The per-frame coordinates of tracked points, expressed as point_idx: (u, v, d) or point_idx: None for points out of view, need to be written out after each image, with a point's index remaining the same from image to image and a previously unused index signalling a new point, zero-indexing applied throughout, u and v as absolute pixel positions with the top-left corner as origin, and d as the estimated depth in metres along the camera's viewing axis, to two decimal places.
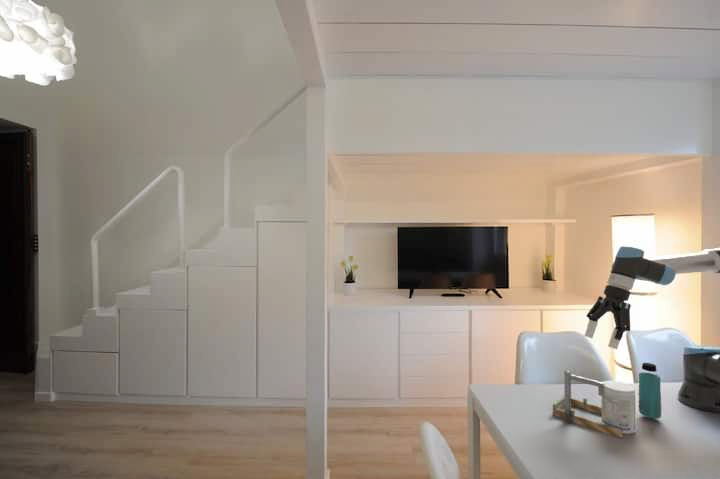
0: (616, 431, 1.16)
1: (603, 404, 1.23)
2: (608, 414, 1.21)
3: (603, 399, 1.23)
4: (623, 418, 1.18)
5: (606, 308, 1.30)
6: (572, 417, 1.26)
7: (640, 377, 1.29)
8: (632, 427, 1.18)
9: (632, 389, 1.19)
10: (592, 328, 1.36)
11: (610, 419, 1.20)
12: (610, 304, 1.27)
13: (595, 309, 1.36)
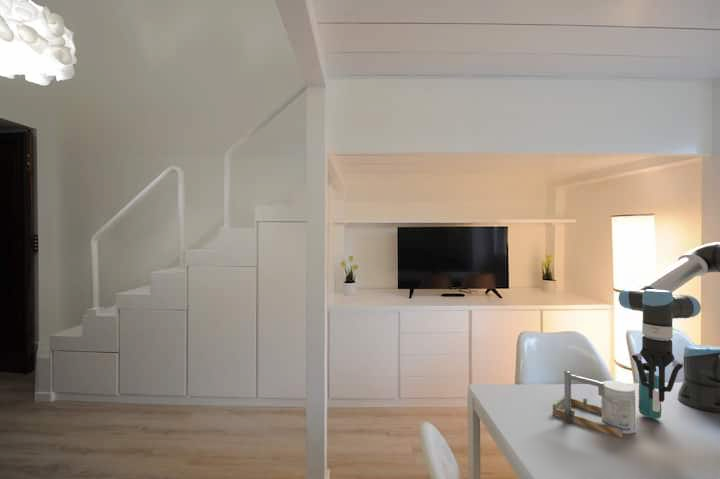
0: (616, 431, 1.16)
1: (603, 404, 1.23)
2: (608, 414, 1.21)
3: (603, 399, 1.23)
4: (623, 418, 1.18)
5: (652, 364, 1.14)
6: (572, 417, 1.26)
7: None
8: (632, 427, 1.18)
9: (632, 389, 1.19)
10: None
11: (610, 419, 1.20)
12: (660, 361, 1.12)
13: (643, 371, 1.17)
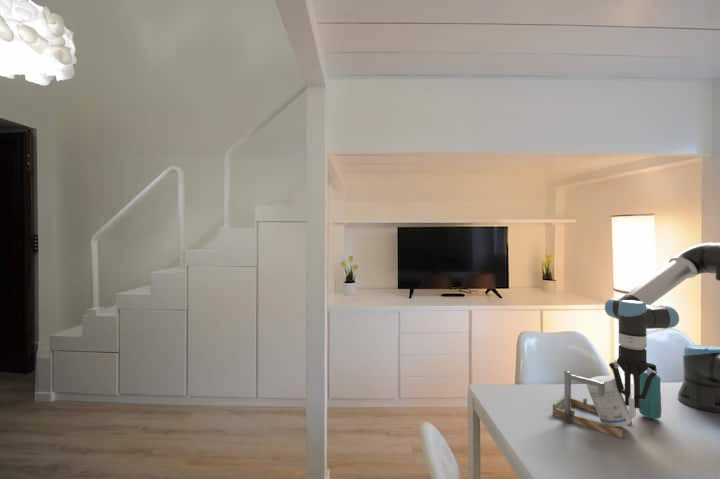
0: (616, 431, 1.16)
1: (593, 402, 1.25)
2: (601, 410, 1.22)
3: (592, 397, 1.25)
4: (615, 410, 1.19)
5: None
6: (572, 417, 1.26)
7: (640, 377, 1.29)
8: (627, 417, 1.19)
9: (612, 378, 1.23)
10: None
11: (604, 415, 1.21)
12: (635, 369, 1.17)
13: (619, 379, 1.21)
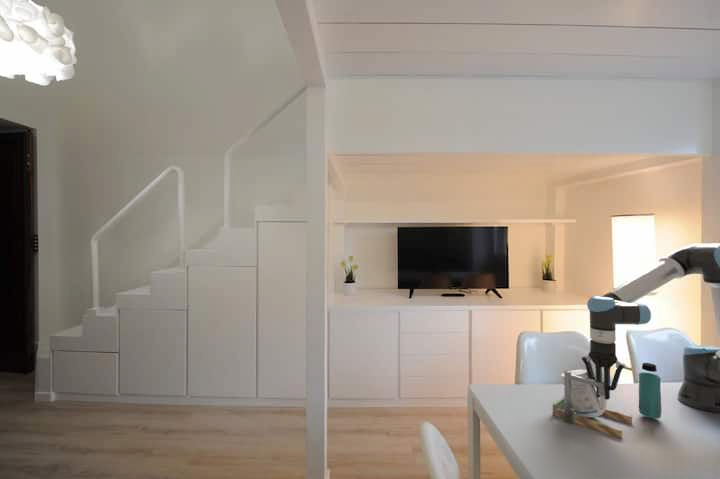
0: (616, 431, 1.16)
1: None
2: (574, 402, 1.28)
3: None
4: (586, 402, 1.26)
5: None
6: (572, 417, 1.26)
7: (640, 377, 1.29)
8: (598, 408, 1.25)
9: (585, 371, 1.29)
10: None
11: (577, 406, 1.28)
12: (605, 362, 1.23)
13: (591, 372, 1.28)
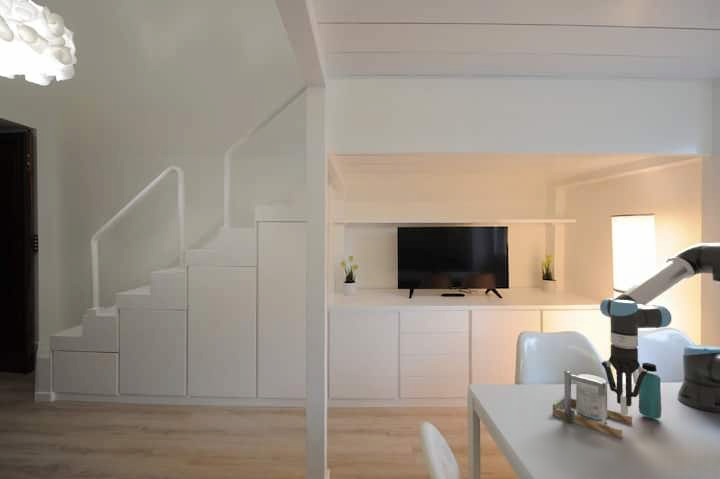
0: (616, 431, 1.16)
1: (577, 396, 1.29)
2: (581, 405, 1.27)
3: (577, 391, 1.29)
4: (594, 409, 1.24)
5: None
6: (572, 417, 1.26)
7: None
8: (603, 418, 1.24)
9: (604, 382, 1.25)
10: None
11: (582, 410, 1.27)
12: (627, 368, 1.19)
13: (611, 377, 1.23)
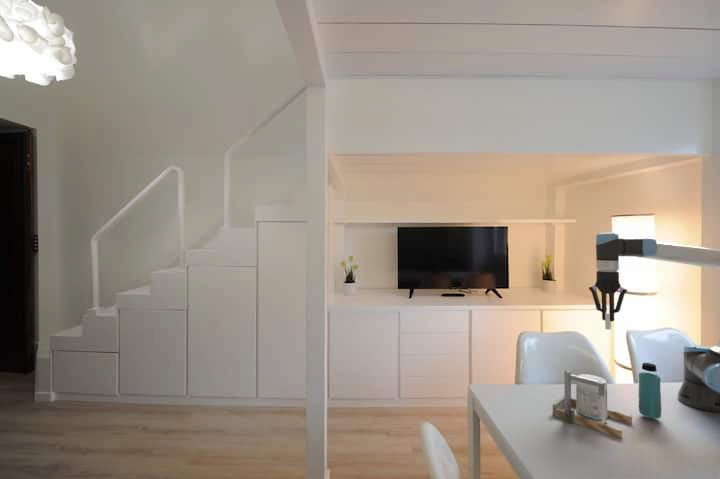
0: (616, 431, 1.16)
1: (577, 396, 1.29)
2: (581, 405, 1.27)
3: (577, 391, 1.29)
4: (594, 409, 1.24)
5: None
6: (572, 417, 1.26)
7: (640, 377, 1.29)
8: (603, 418, 1.24)
9: (604, 382, 1.25)
10: None
11: (582, 410, 1.27)
12: (610, 288, 1.41)
13: (597, 299, 1.45)
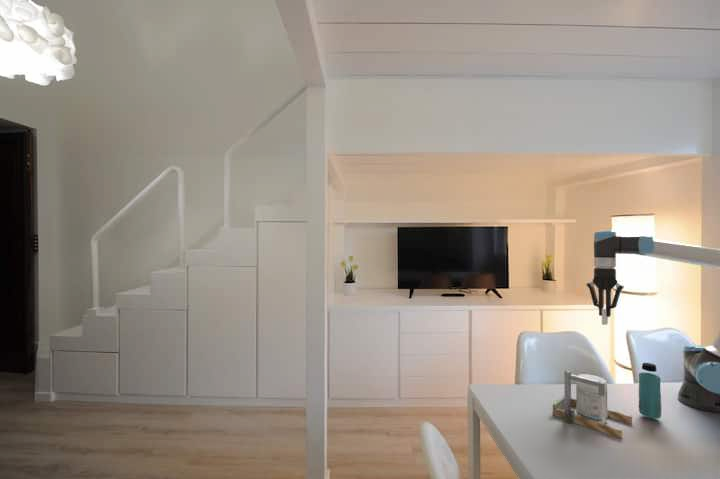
0: (616, 431, 1.16)
1: (577, 396, 1.29)
2: (581, 405, 1.27)
3: (577, 391, 1.29)
4: (594, 409, 1.24)
5: None
6: (572, 417, 1.26)
7: (640, 377, 1.29)
8: (603, 418, 1.24)
9: (604, 382, 1.25)
10: None
11: (582, 410, 1.27)
12: (607, 285, 1.45)
13: (594, 295, 1.49)
